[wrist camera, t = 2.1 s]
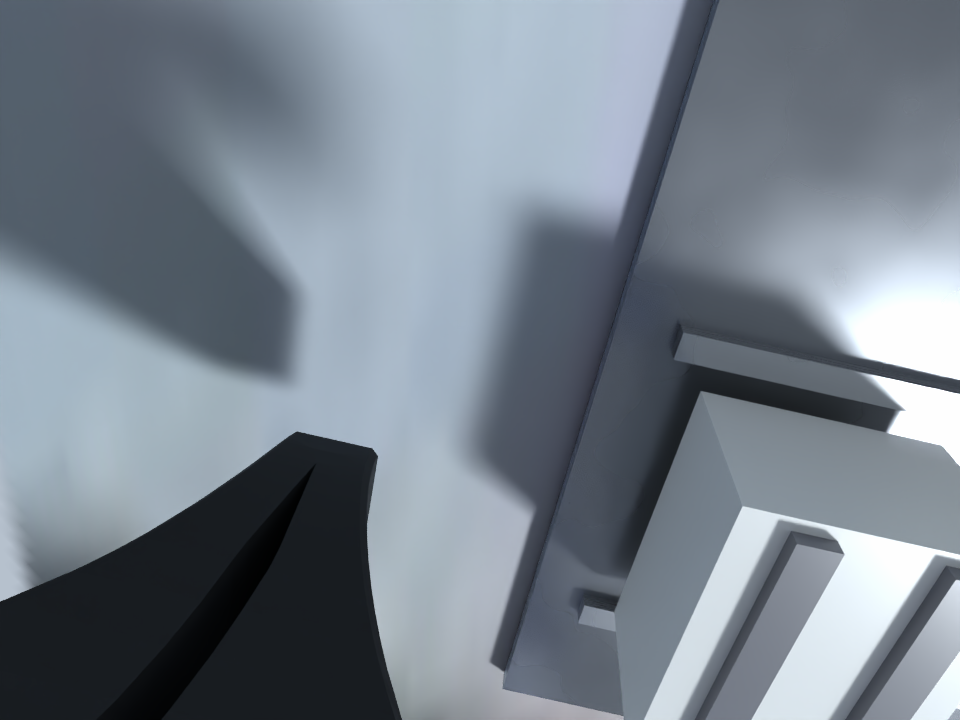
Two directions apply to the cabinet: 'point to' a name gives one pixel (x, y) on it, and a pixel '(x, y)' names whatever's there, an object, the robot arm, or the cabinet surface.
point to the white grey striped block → (795, 575)
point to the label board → (766, 286)
